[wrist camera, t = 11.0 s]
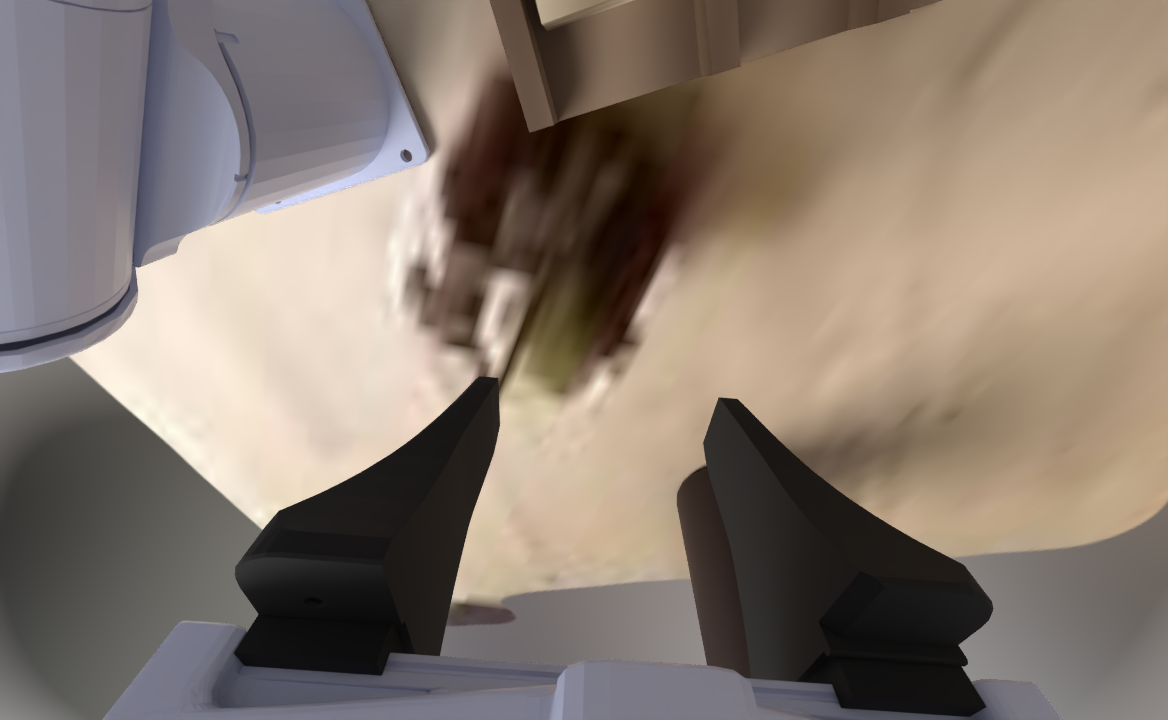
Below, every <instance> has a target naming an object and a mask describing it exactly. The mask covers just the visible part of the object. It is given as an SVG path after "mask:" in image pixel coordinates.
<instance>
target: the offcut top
mask: <svg viewBox="0 0 1168 720" xmlns="http://www.w3.org/2000/svg"><path fill="white" fill-rule="evenodd" d="M618 1H621V0H536V4H537V8H538V12H539V16H540V20H541V24H542V25H543V26H544V27H545V28H546V27H548V26H551V25H554V24H557V23H560V22H562V21H565V20H568V19H571V18H574V17H576V16H579V15H582V14H585V13H588V12H590V11H593V10H596V9H599V8H601V7H604V6H607V5H610V4H613V3H615V2H618Z"/></svg>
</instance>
